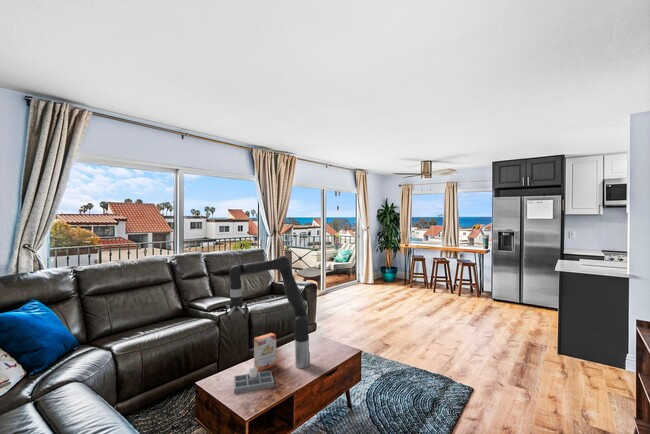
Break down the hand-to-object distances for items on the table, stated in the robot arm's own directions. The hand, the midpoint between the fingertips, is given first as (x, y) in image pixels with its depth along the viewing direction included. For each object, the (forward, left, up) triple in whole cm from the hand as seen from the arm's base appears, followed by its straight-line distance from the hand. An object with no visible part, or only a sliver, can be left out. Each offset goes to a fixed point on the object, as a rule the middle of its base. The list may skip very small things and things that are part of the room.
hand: (236, 319), depth 211 cm
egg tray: (-9, +24, -32) cm, 41 cm away
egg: (-9, +20, -32) cm, 39 cm away
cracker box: (-18, +5, -32) cm, 37 cm away
